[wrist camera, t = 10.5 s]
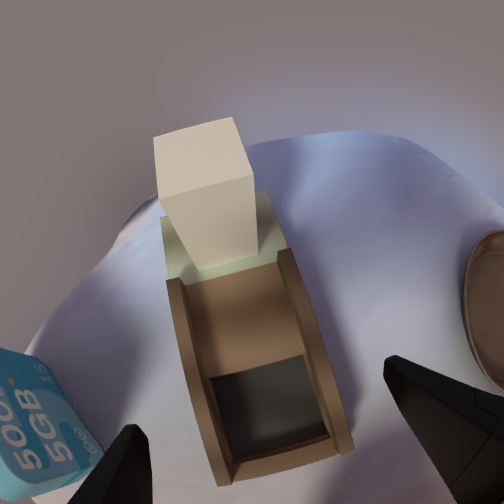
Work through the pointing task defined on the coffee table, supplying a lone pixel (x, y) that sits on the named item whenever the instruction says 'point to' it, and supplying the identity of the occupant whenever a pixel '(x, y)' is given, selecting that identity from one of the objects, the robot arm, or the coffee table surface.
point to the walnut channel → (254, 358)
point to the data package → (38, 432)
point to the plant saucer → (486, 305)
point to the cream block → (208, 192)
